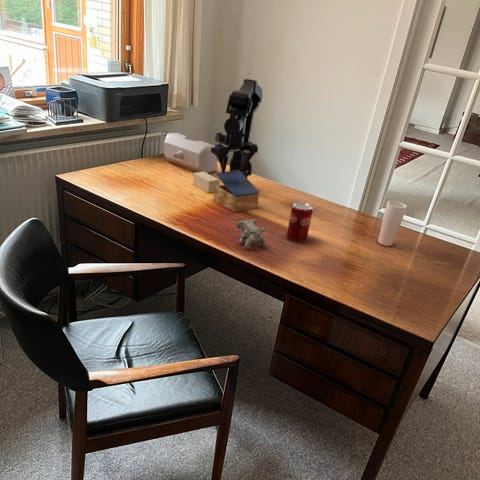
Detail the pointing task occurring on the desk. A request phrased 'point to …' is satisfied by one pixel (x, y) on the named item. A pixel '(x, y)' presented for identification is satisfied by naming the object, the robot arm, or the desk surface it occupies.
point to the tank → (189, 153)
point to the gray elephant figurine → (250, 232)
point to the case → (205, 181)
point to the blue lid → (237, 183)
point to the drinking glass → (391, 222)
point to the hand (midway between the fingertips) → (232, 171)
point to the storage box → (234, 199)
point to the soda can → (299, 222)
